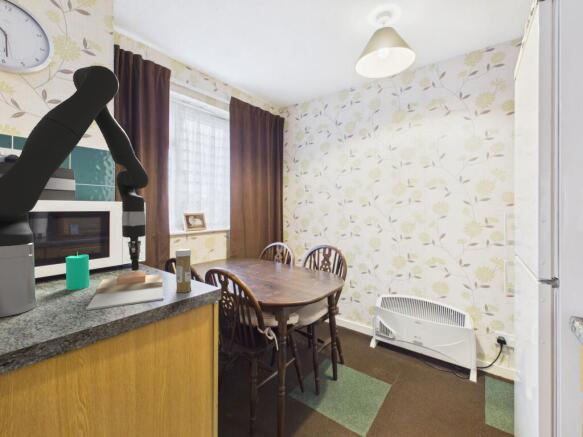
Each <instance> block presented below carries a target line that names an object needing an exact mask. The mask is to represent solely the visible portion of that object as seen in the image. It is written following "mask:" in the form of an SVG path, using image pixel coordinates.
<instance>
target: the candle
mask: <svg viewBox="0 0 583 437" xmlns="http://www.w3.org/2000/svg"><path fill="white" fill-rule="evenodd" d="M78 252H79V251H76V255H68V256H67V257H65V277H66V278H65V279H66V280H65V282H66V284H65V285H66V290H68V291H77V290H82V289H85V288H88V287H90V258H89V257H90V256H89V254H79V253H78Z"/></svg>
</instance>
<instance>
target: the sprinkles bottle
mask: <svg viewBox="0 0 583 437" xmlns="http://www.w3.org/2000/svg"><path fill="white" fill-rule="evenodd" d="M191 256H192V250H191V248H177V249H175V259H176V260H175V262H176V263H175V264H176V265H175V275H176V276H175V278H176V280H175V282H176V289H175V291H176V293H180V294H183V293H187V292H190V291H191V290H192V285H191V284H192V283H191V282H192V275H191V274H192V270H191V269H192V268H191V267H192V266H191Z"/></svg>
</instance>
